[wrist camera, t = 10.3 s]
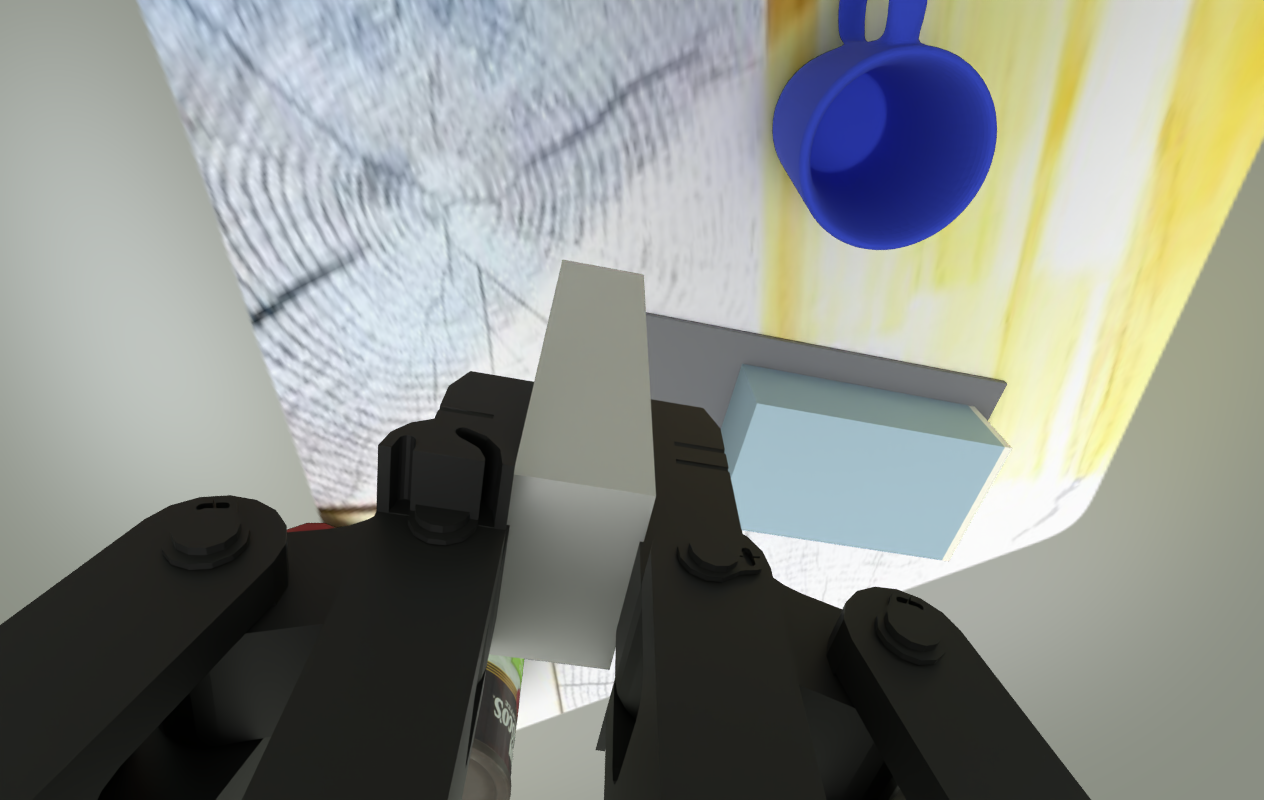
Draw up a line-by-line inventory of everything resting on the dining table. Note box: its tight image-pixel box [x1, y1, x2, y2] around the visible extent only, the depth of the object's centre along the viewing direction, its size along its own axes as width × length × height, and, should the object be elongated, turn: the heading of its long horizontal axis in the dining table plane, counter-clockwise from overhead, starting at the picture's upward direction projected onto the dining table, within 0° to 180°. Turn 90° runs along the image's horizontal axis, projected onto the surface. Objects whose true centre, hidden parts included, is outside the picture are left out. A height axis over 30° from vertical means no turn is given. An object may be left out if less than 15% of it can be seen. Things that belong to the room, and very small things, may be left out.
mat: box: [646, 313, 1007, 429], centre depth 48 cm, size 24×13×1 cm, turn 78°
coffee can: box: [462, 654, 524, 800], centre depth 49 cm, size 10×10×14 cm
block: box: [721, 364, 1013, 561], centre depth 46 cm, size 5×9×16 cm
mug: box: [773, 0, 997, 250], centre depth 33 cm, size 8×12×10 cm
